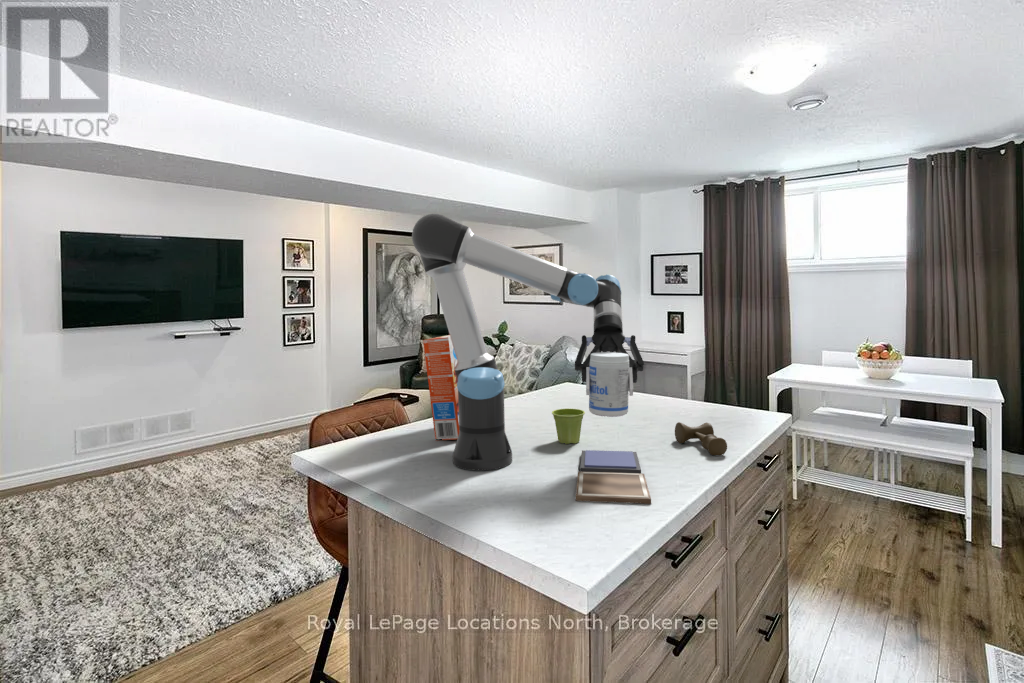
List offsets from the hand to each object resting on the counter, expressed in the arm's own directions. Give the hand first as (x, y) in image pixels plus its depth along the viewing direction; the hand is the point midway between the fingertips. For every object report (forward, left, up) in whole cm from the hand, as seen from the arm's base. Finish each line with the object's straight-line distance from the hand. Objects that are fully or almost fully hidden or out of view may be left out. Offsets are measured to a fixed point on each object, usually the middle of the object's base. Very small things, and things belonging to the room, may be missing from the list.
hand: (609, 392), depth 124 cm
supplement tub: (-2, +2, -6) cm, 7 cm away
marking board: (+10, -9, -19) cm, 23 cm away
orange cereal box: (-53, -14, -18) cm, 58 cm away
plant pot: (-24, +6, -19) cm, 31 cm away
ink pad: (-2, +2, -19) cm, 19 cm away
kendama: (0, +33, -19) cm, 38 cm away
